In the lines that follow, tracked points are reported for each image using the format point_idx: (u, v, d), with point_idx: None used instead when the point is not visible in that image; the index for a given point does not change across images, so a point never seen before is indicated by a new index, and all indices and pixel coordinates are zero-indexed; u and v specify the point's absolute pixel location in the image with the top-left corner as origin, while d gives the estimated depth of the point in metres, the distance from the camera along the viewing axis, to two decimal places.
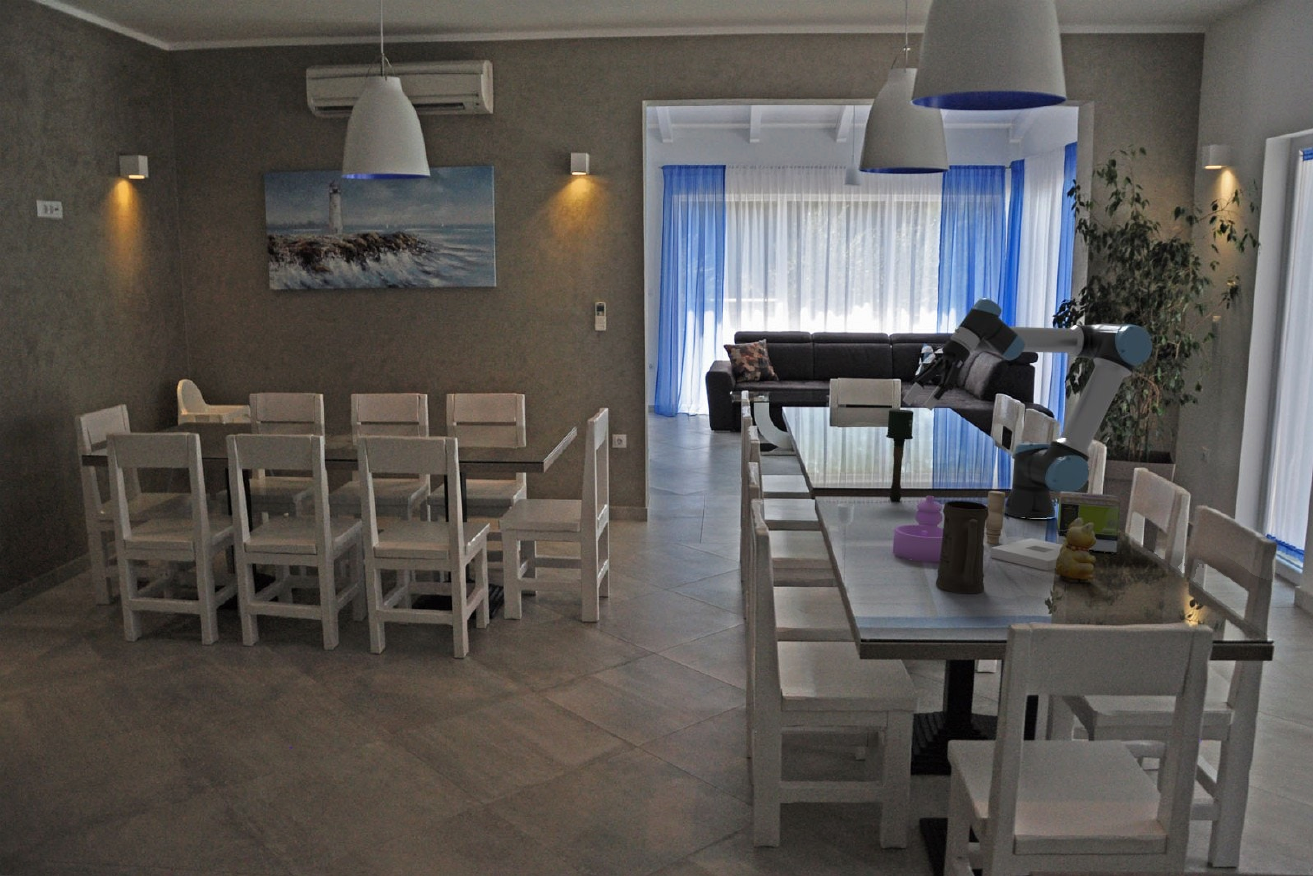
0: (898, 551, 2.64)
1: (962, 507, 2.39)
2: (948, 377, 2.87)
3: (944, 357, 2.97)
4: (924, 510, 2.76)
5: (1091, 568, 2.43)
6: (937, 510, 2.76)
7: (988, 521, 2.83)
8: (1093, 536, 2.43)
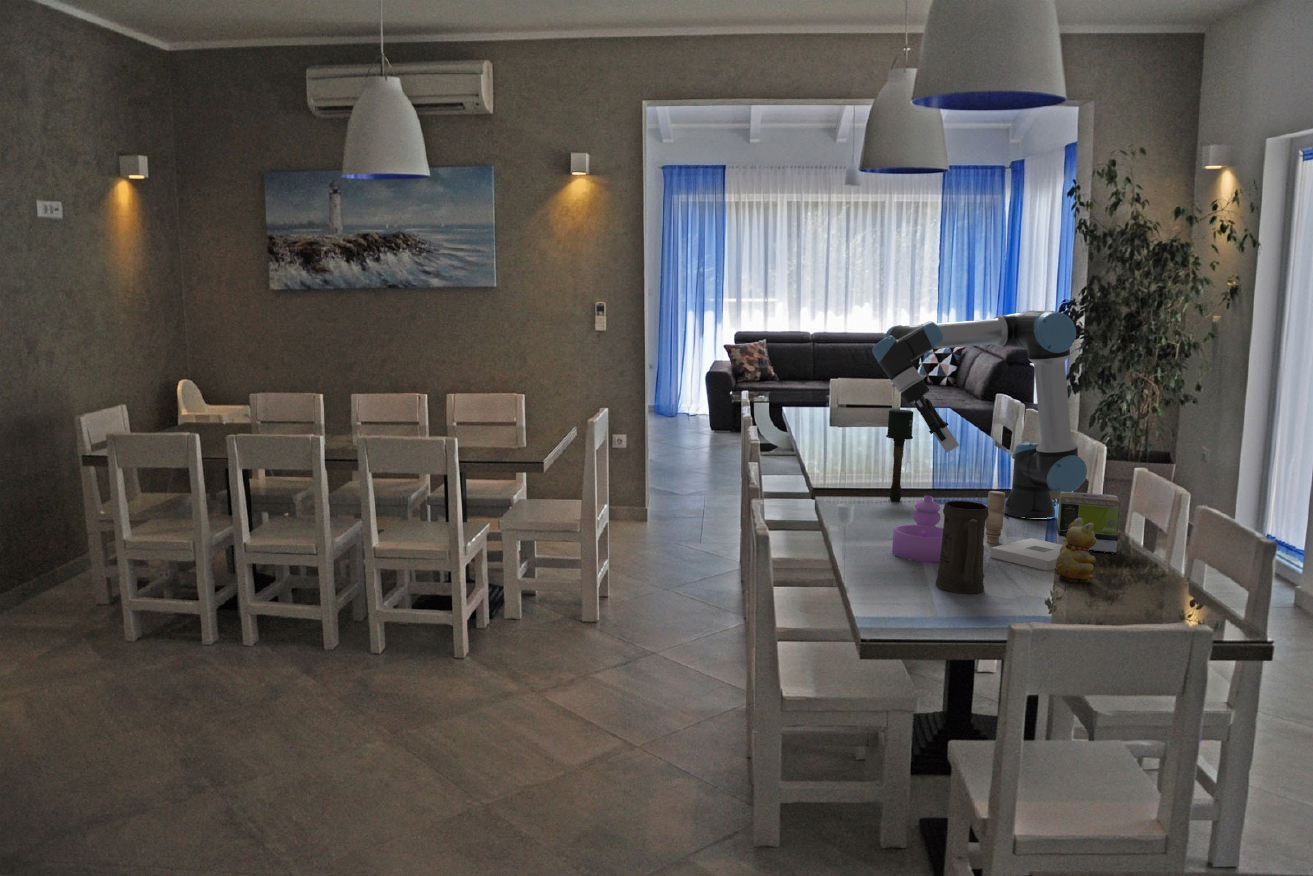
0: (898, 551, 2.64)
1: (962, 507, 2.39)
2: (926, 422, 2.82)
3: None
4: (922, 510, 2.76)
5: (1091, 568, 2.43)
6: (935, 510, 2.76)
7: (988, 521, 2.83)
8: (1093, 536, 2.43)
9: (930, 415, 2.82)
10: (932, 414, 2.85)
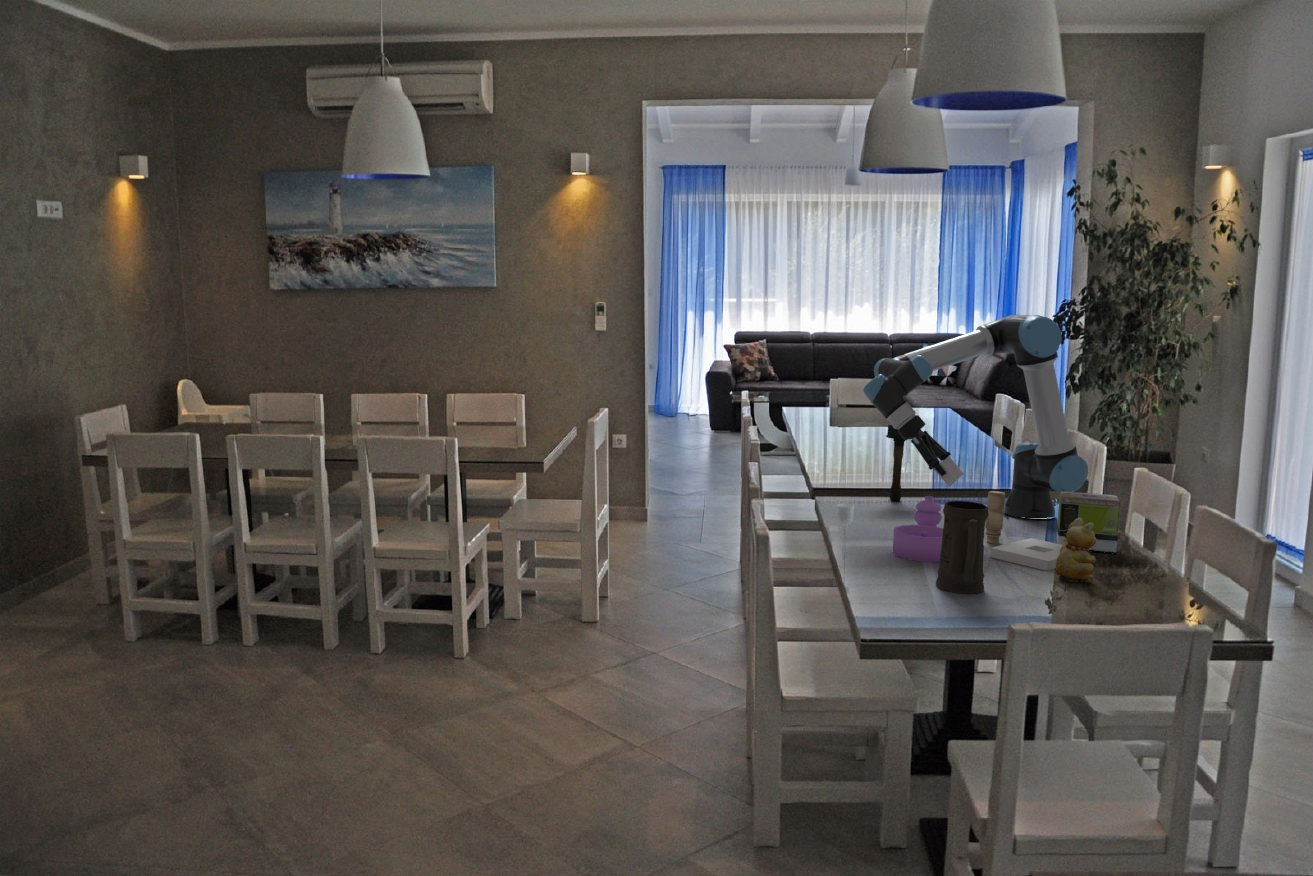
0: (898, 551, 2.64)
1: (962, 507, 2.39)
2: None
3: None
4: (923, 510, 2.76)
5: (1091, 568, 2.43)
6: (936, 510, 2.76)
7: (988, 521, 2.83)
8: (1093, 536, 2.43)
9: (927, 451, 2.80)
10: (930, 449, 2.83)
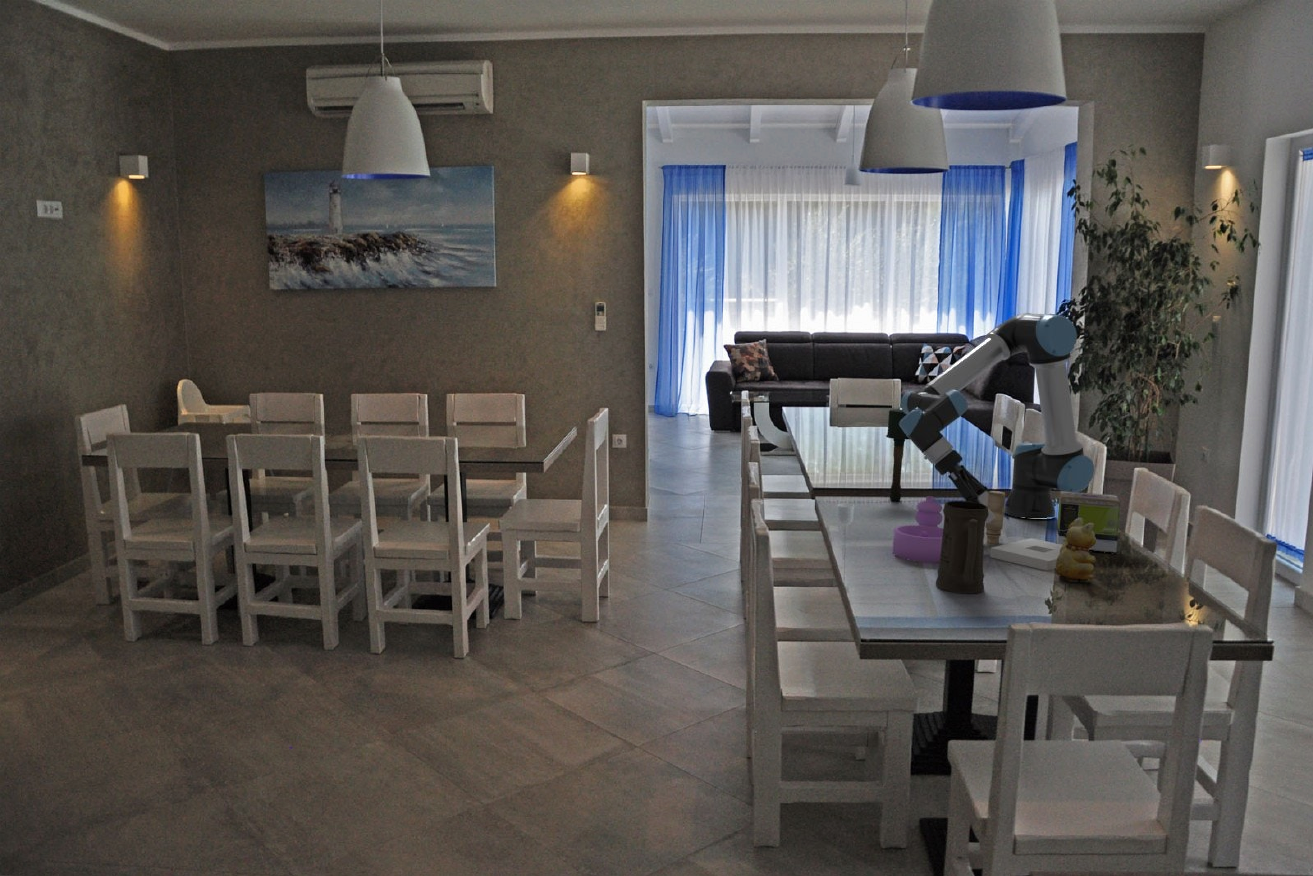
0: (898, 551, 2.64)
1: (962, 507, 2.39)
2: None
3: None
4: (924, 510, 2.76)
5: (1091, 568, 2.43)
6: (937, 510, 2.75)
7: None
8: (1093, 536, 2.43)
9: (966, 488, 2.77)
10: (968, 485, 2.80)
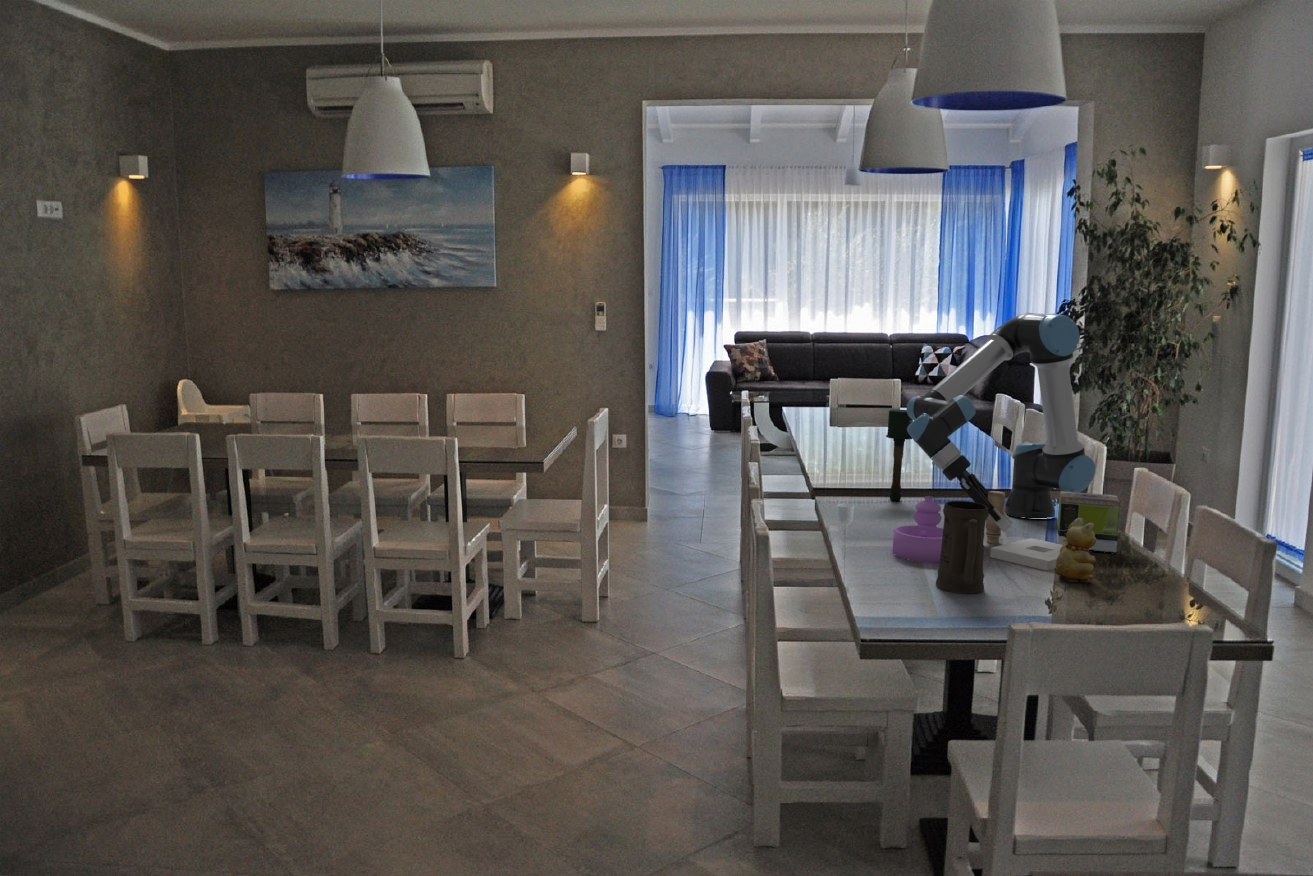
0: (898, 552, 2.64)
1: (962, 507, 2.39)
2: None
3: None
4: (923, 510, 2.76)
5: (1091, 568, 2.43)
6: (936, 510, 2.75)
7: (988, 521, 2.83)
8: (1093, 536, 2.43)
9: (981, 498, 2.79)
10: (981, 493, 2.81)
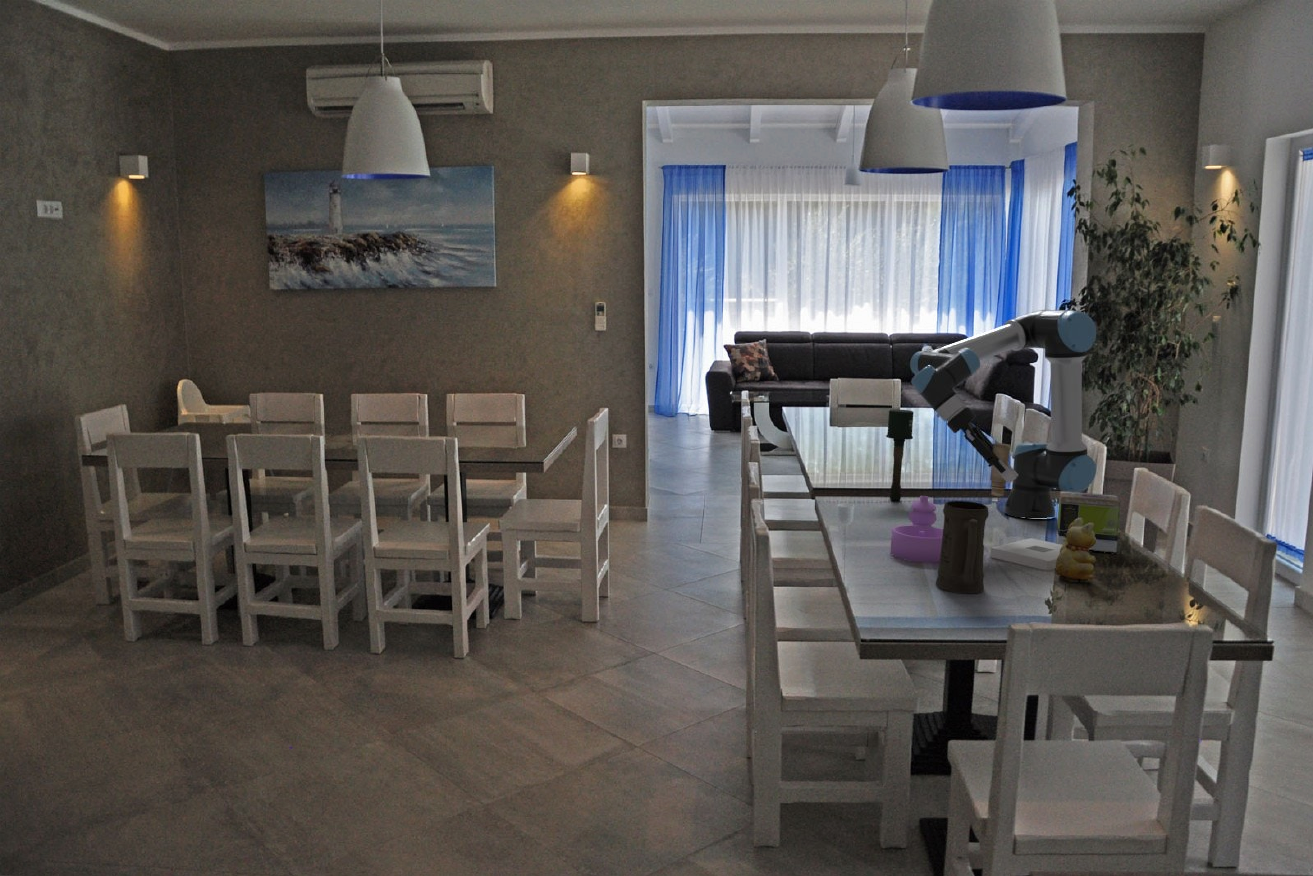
0: (897, 552, 2.63)
1: (962, 507, 2.39)
2: (982, 456, 2.77)
3: None
4: (919, 510, 2.76)
5: (1091, 568, 2.43)
6: (932, 510, 2.76)
7: (993, 473, 2.80)
8: (1093, 536, 2.43)
9: (985, 449, 2.76)
10: (986, 445, 2.78)
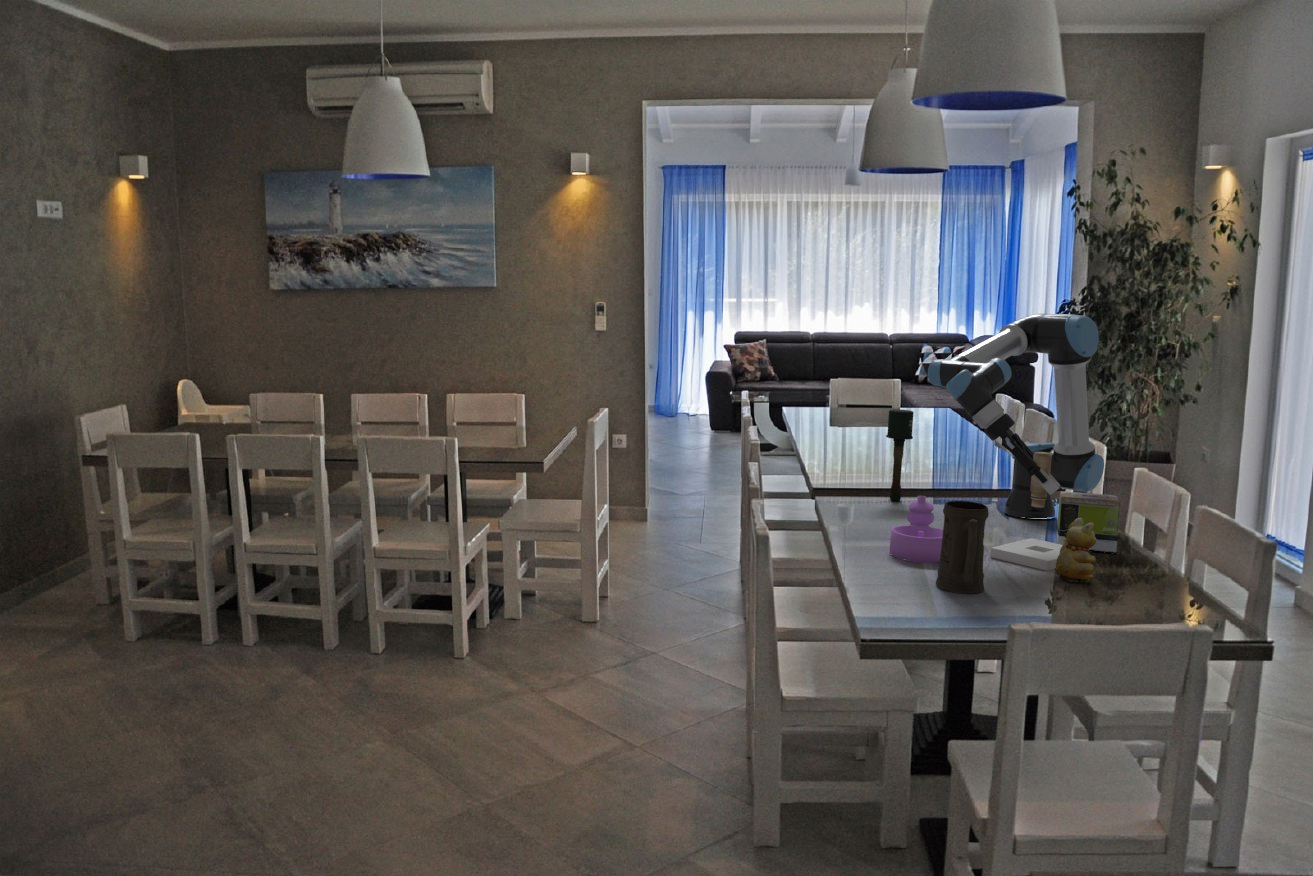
0: (896, 552, 2.63)
1: (962, 507, 2.39)
2: None
3: None
4: (917, 510, 2.76)
5: (1091, 568, 2.43)
6: (929, 510, 2.76)
7: (1033, 483, 2.65)
8: (1093, 536, 2.43)
9: (1026, 458, 2.61)
10: (1026, 453, 2.64)
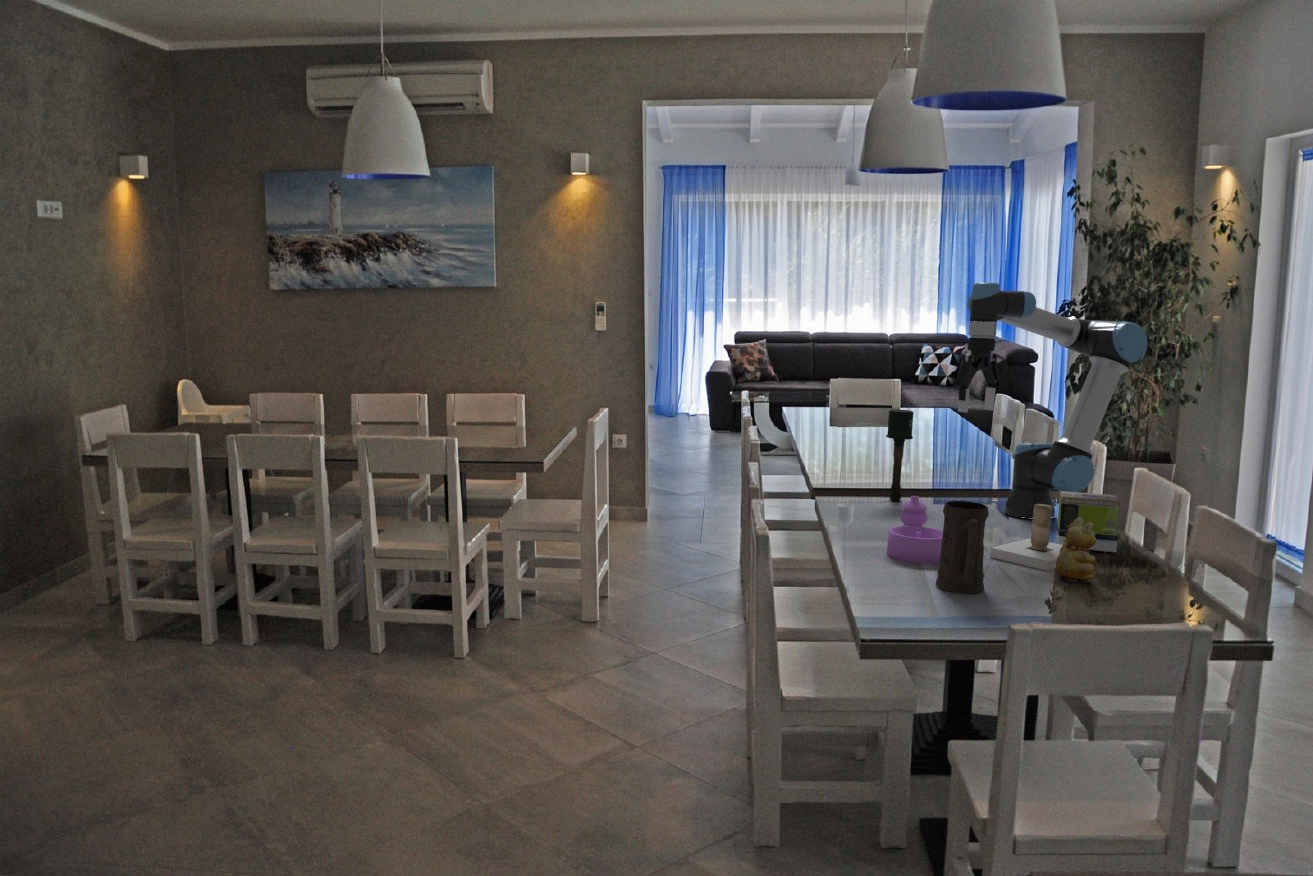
0: (896, 554, 2.62)
1: (962, 507, 2.39)
2: None
3: None
4: (911, 510, 2.75)
5: (1091, 568, 2.43)
6: (923, 510, 2.75)
7: (1034, 536, 2.66)
8: (1093, 536, 2.43)
9: (964, 373, 2.88)
10: (972, 373, 2.90)
